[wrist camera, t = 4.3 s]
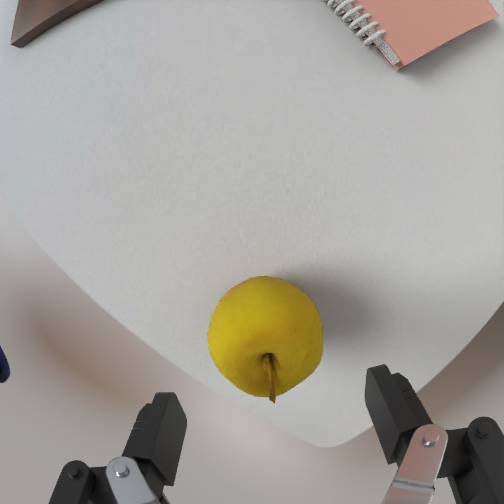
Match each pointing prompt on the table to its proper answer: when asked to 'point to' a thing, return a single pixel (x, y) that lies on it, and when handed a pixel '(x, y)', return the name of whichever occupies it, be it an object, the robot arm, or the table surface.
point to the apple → (266, 336)
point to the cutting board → (42, 17)
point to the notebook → (412, 23)
